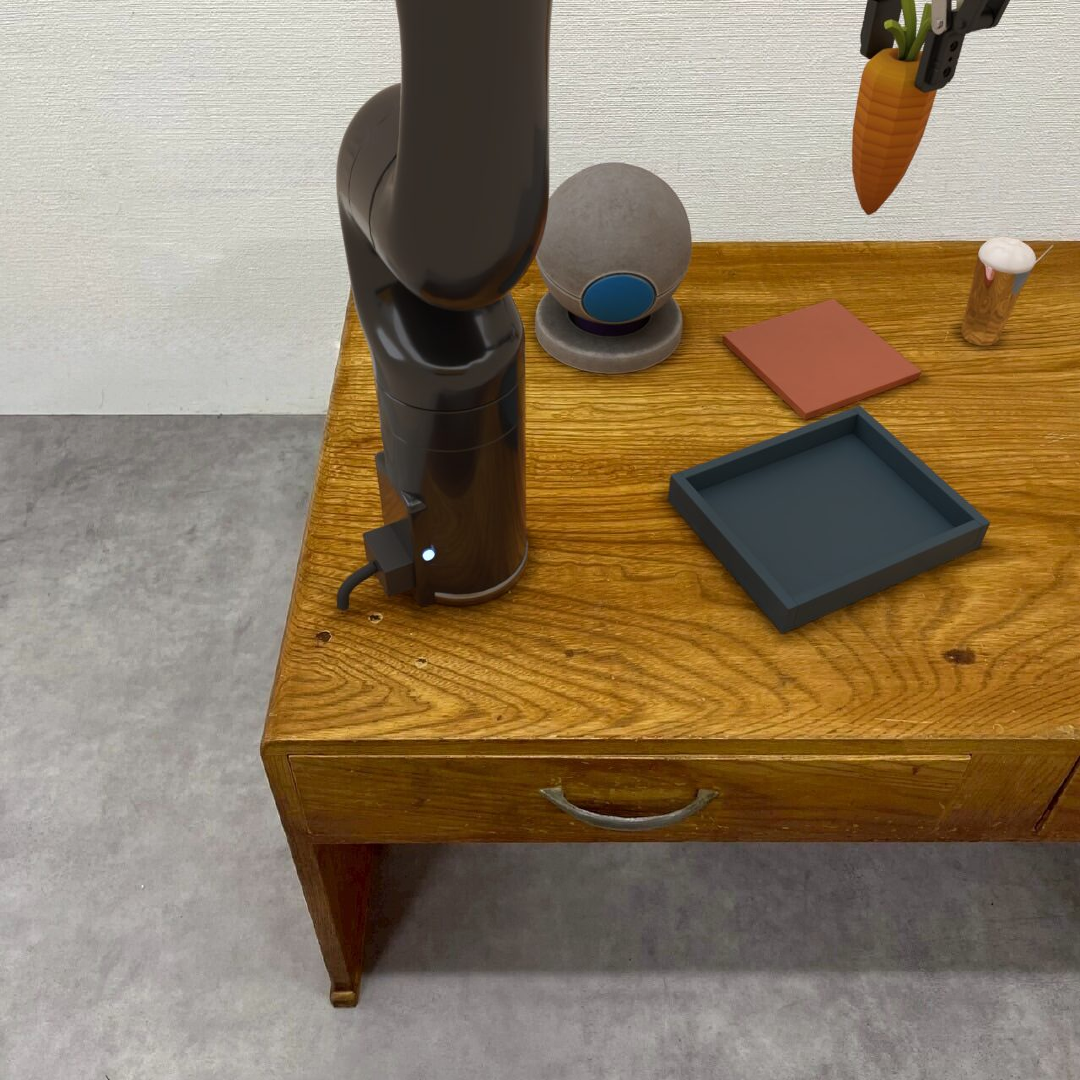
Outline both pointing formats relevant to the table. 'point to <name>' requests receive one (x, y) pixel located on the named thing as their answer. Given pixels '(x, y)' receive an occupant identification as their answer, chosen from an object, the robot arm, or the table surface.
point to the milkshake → (996, 288)
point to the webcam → (612, 270)
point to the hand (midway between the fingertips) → (902, 70)
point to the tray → (824, 516)
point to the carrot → (890, 111)
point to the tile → (820, 358)
